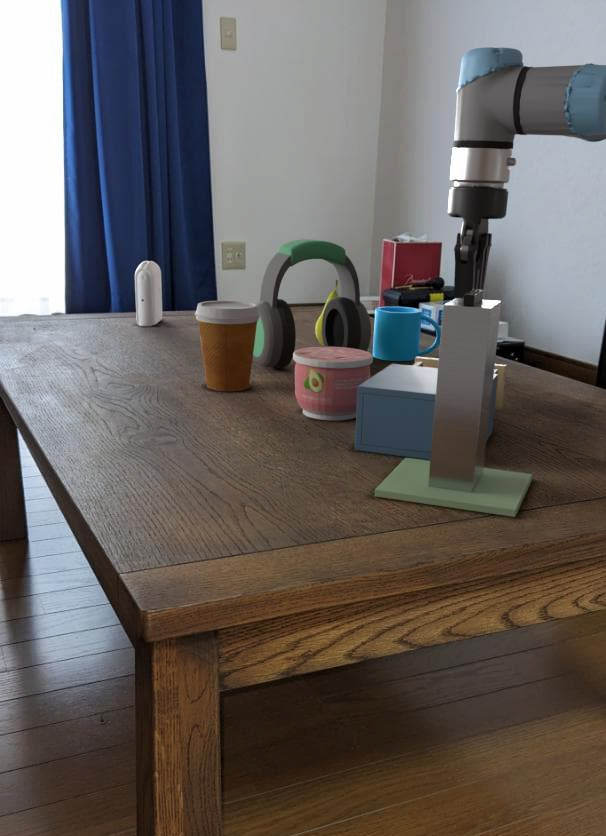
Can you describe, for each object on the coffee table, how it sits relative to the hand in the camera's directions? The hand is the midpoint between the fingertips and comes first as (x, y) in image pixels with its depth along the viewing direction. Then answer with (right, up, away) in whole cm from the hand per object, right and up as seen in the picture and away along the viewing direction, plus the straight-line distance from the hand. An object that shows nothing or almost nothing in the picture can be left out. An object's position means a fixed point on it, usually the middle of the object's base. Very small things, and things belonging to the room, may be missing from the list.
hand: (462, 368), depth 124 cm
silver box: (-6, -18, -32) cm, 37 cm away
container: (-18, -7, -3) cm, 20 cm away
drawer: (-2, -6, -3) cm, 8 cm away
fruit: (-17, +12, +42) cm, 47 cm away
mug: (-4, +8, +35) cm, 36 cm away
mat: (-6, -19, -31) cm, 37 cm away
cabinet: (-7, -12, -15) cm, 21 cm away
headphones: (-21, +5, +26) cm, 34 cm away
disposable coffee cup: (-33, -1, +10) cm, 35 cm away
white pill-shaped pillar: (-54, +21, +63) cm, 86 cm away
